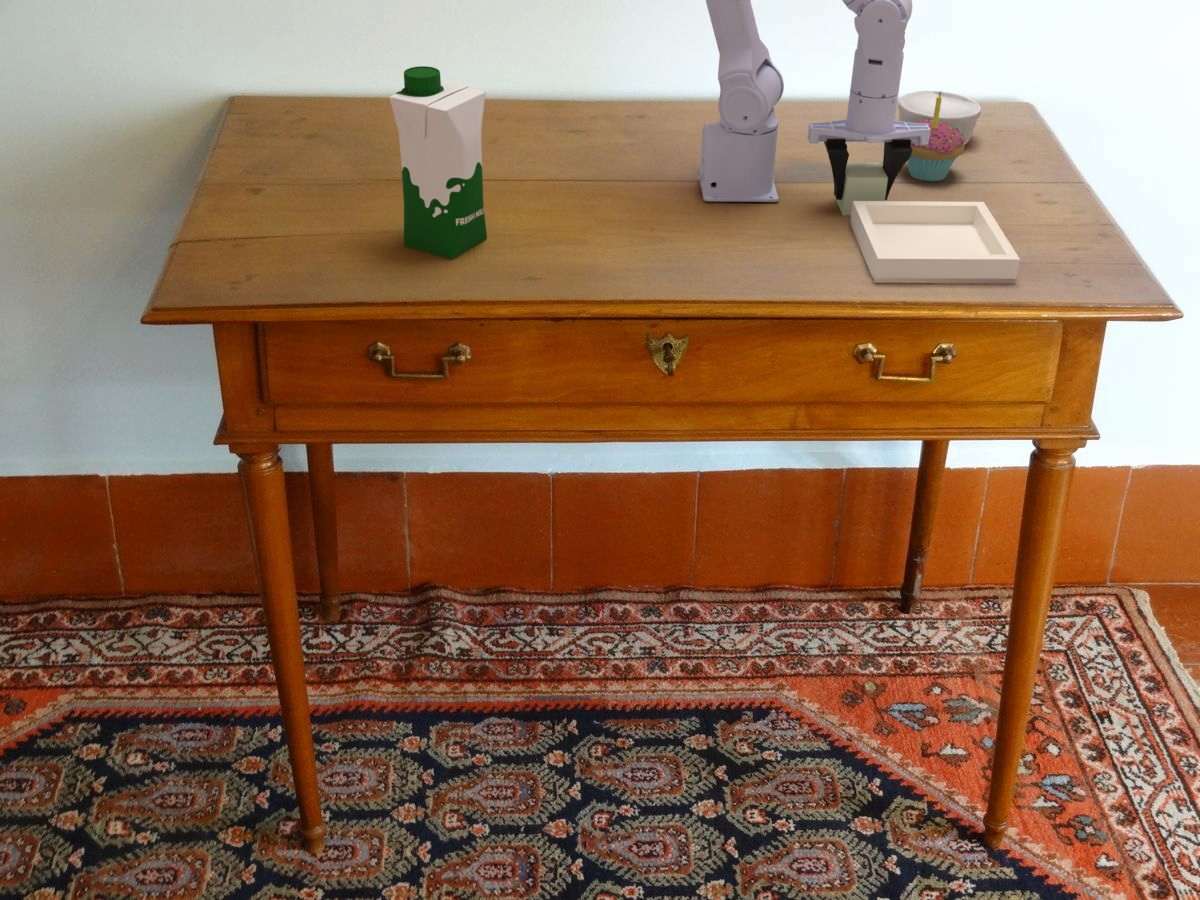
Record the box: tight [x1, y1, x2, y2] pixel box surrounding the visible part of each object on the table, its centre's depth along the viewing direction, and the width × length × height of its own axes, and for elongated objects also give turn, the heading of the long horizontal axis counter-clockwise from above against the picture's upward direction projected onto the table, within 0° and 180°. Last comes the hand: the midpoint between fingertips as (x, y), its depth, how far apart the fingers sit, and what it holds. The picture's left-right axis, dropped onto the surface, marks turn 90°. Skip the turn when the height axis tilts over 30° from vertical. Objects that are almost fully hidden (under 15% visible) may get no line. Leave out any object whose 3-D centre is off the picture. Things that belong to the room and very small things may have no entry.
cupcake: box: [907, 90, 965, 182], centre depth 176 cm, size 9×8×12 cm
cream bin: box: [849, 200, 1021, 285], centre depth 158 cm, size 16×16×3 cm
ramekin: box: [897, 90, 982, 146], centre depth 189 cm, size 11×11×5 cm
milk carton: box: [389, 65, 488, 260], centre depth 154 cm, size 9×9×20 cm
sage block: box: [835, 161, 888, 217], centre depth 168 cm, size 5×5×5 cm
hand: (860, 196), depth 169 cm, fingers closed on sage block, 5 cm apart
